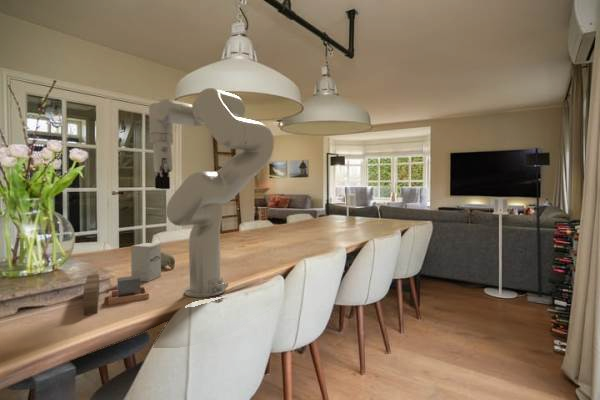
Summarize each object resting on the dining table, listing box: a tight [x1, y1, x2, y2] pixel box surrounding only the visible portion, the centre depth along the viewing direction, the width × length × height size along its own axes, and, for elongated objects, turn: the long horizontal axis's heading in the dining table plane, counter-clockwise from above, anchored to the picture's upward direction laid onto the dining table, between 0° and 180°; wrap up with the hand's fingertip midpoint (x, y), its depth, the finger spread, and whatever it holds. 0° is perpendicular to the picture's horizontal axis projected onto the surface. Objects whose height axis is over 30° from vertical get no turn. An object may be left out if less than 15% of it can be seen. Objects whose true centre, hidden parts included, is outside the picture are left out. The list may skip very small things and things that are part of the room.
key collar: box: [108, 285, 150, 305], centre depth 103 cm, size 11×9×2 cm
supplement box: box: [130, 242, 162, 282], centre depth 124 cm, size 7×7×13 cm
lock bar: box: [116, 275, 142, 297], centre depth 103 cm, size 6×4×6 cm, turn 120°
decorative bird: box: [161, 251, 176, 270], centre depth 141 cm, size 5×16×8 cm, turn 61°
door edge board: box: [82, 273, 100, 316], centre depth 98 cm, size 20×3×6 cm, turn 29°
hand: (162, 188), depth 119 cm, fingers open, 9 cm apart
